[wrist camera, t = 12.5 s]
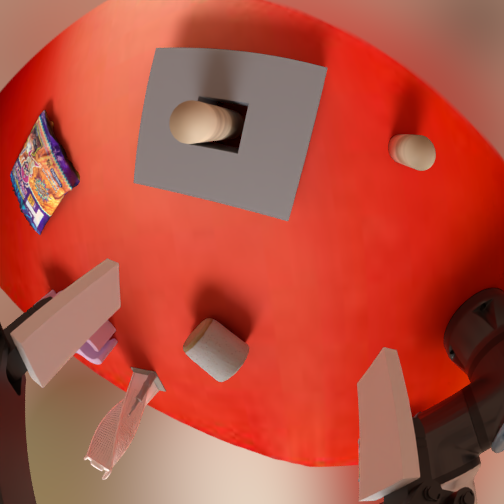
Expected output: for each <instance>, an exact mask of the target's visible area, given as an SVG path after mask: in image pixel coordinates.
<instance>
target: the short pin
mask: <svg viewBox="0 0 504 504" xmlns="http://www.w3.org/2000/svg"><path fill="white" fill-rule="evenodd" d="M388 151H389V154H390V156H391V158H392V159H393V160H394V161H396V162H398V163H400V164H403V165H406V166H408V167H411V168H414V169H416V170H420V171H423V170H427V169H429V168H430V167H431V166H432V165H433V163H434V161H435V156H436V153H435V148H434V145H433V144H432V142H431V141H430V140H429V139H428V138H427V137H425V136H422V135H409V134H397V135H395V136H393V137H392V138H391V139H390V141H389V144H388Z"/></svg>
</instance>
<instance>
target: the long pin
mask: <svg viewBox="0 0 504 504" xmlns="http://www.w3.org/2000/svg"><path fill="white" fill-rule="evenodd" d="M244 123H245V119H244V117H243V116H242V115H241V114H240V113H239V112H237V111H234V110H230V109H227V108H223V107H219V106H215V105H211V104H207V103H203V102H199V101H194V100H190V101H185V102H183V103H181V104H179V105H178V106H177V107H176V108H175V109H174V110H173V112H172V114H171V116H170V121H169V126H170V131H171V133H172V135H173V136H174V138H175V139H177V140H178V141H179V142H181V143H185V144H194V143H201V142H209V141H218V140H227V139H235V138H237V137H239V136H240V135H241V134H242V132H243V127H244Z"/></svg>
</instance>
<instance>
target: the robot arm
mask: <svg viewBox="0 0 504 504" xmlns="http://www.w3.org/2000/svg"><path fill="white" fill-rule="evenodd" d="M120 307H121V301H120V284H119V263H117V262H115V261H112V260H110V259H106V260H104V261H103V262H102V263H100V264H99V265H97V266H96V267H94V268H93V269H92V270H90V271H89V272H87V273H86V274H85V275H83V276H82V277H81V278H79V279H78V280H76V281H75V282H74V283H72V284H71V285H70V286H68V287H67V288H66V289H64V290H63V291H62V292H60V293H59V294H58V295H57V296H55V297H54V298H52V297H51V296H50V297H47V298H44V299H42V300H40V301H39V302H37V303H36V304H35V305H34V306H33V307H31V308H30V309H28V310H27V312H25V313H23V314H22V315H21V316H20V317H19V318H17V319H16V320H15V321H14V322H13V323H11V324H10V325H9V326H8V327H7V328H5V329H4V330H3V329H2V326H1V324H0V504H36V501H35V496H34V491H33V486H32V481H31V475H30V469H29V462H28V453H27V443H26V428H25V385H26V377H25V372H26V371H27V370H28V372H29V374H30V376H31V377H32V379H33V380H34V381H35V382H36V383H38V384H39V385H40V386H41V387H42V388H44V387H45V385H46V384H47V383H48V382H49V381H50V380H51V379H52V378H53V377H54V375H55V374H56V373H57V372H58V371H59V370H60V369H61V368H62V367H63V366H64V365H65V363H66V362H67V361H68V360H69V359H70V358H71V357H72V356H73V355H74V354H75V353H76V352H77V351H78V350H79V349H80V348H81V346H82V345H83V344H84V343H85V342H86V341H87V340H88V339H89V338H90V337H91V336H92V335H93V334H94V333H95V332H96V331H97V330H98V329H99V328H100V327H101V326H102V325H103V324H104V323H105V322H106V321H107V320H108V319H109V318H110V317H111V316H112V315H113V314H114V313H115V312H116V311H117V310H118V309H119V308H120ZM444 347H445V349H446V352H447V354H448V356H449V358H450V359H451V360H452V361H453V362H454V363H455V364H456V365H457V366H458V367H459V368H460V369H461V370H463V371H464V372H465V373H466V374H467V375H468V377H469V380H470V382H471V383H470V384H469V385H467V386H466V387H464V388H463V389H461V390H460V391H458V392H457V393H455V394H453V395H452V396H450V397H448V398H447V399H445V400H443V401H442V402H440V403H438V404H436V405H434V406H433V407H431V408H429V409H427V410H425V411H423V412H419V413H417V414H416V415H415V416H414V417H412V414H411V409H410V404H409V399H408V395H407V390H406V386H405V381H404V377H403V373H402V369H401V365H400V361H399V357H398V353H397V350H394V349H389V348H385V347H383V349H382V350H381V352H380V353H379V355H378V356H377V357H376V359H375V360H374V362H373V363H372V364H371V366H370V367H369V369H368V370H367V371H366V373H365V374H364V375H363V377H362V378H361V379H360V381H359V382H358V383H357V388H358V404H359V425H360V484H359V501H375V500H377V499H380V498H382V497H384V502H382V503H380V504H477V498H476V491H475V485H474V477H475V475H476V473H477V471H478V469H479V468H480V466H481V462H480V458H479V455H480V454H481V453H482V452H484V451H486V450H487V449H489V448H491V449H492V451H494V452H495V453H499V452H502V451H503V450H504V292H503V291H502V290H500V289H498V288H489V289H485V290H483V291H481V292H479V293H477V294H475V295H474V296H472V297H471V298H469V299H468V300H467V301H466V302H465V303H464V304H463V305H462V306H461V307H460V308H459V309H458V310H457V312H456V313H455V314H454V316H453V317H452V319H451V320H450V322H449V324H448V326H447V328H446V331H445V334H444Z"/></svg>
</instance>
